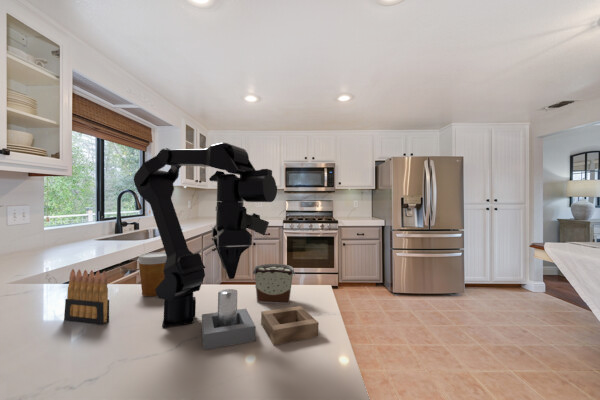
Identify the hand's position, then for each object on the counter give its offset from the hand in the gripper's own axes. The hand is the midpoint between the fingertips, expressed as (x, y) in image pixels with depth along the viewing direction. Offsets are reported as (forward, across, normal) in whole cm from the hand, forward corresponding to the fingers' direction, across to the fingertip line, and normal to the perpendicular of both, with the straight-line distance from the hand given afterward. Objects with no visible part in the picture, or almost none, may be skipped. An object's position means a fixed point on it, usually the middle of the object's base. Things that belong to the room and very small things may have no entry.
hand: (228, 273), depth 58 cm
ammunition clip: (+13, +18, +30) cm, 37 cm away
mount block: (+13, -3, -13) cm, 19 cm away
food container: (+13, +17, -16) cm, 27 cm away
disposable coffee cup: (+13, +35, +18) cm, 41 cm away
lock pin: (+13, 0, 0) cm, 13 cm away
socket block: (+13, 0, 0) cm, 13 cm away
